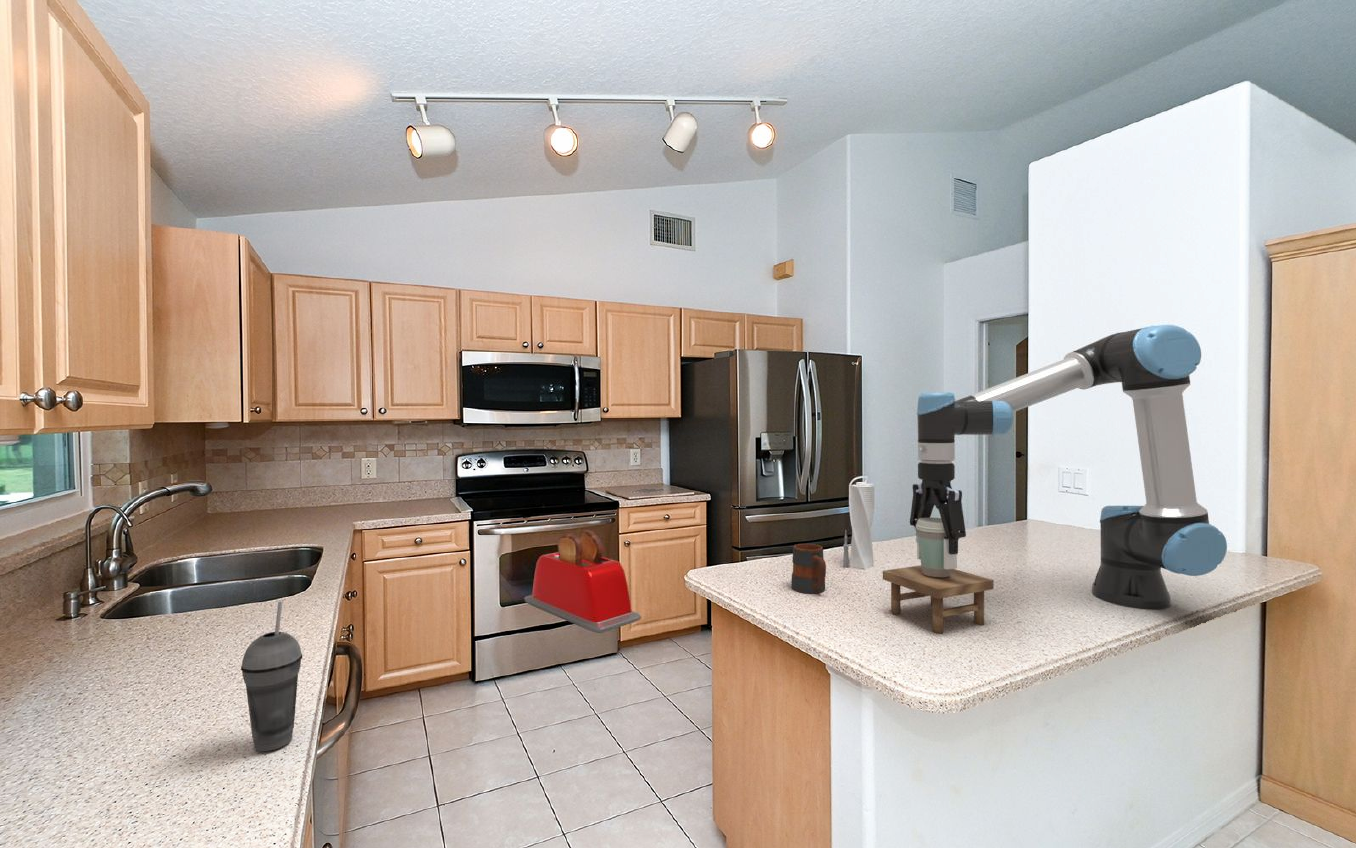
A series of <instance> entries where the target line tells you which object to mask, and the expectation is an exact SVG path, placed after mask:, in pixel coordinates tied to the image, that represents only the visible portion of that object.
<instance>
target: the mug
mask: <svg viewBox="0 0 1356 848" xmlns="http://www.w3.org/2000/svg"><path fill="white" fill-rule="evenodd" d="M791 562H792V573H791V589H792V590H793V591H795V592H797V593H800V594H801V593H802V594H808V595H814V594H820V593H824V591H826V577H827V576H826V574H827V564H826V561H825V559H824V548H823V546H821V545H818V544H814V543H798V544H794V545H793V547H792V561H791Z"/></svg>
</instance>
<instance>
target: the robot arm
mask: <svg viewBox="0 0 1356 848" xmlns="http://www.w3.org/2000/svg"><path fill="white" fill-rule="evenodd" d="M1201 360H1202V350H1201V346H1200V343H1199V341H1198V339H1196V337H1195V335H1193V334H1192V333H1191V332H1190V331H1187V329H1185V328H1184V327H1181V326H1178V325H1174V324H1160V325H1159V324H1158V325H1150V326H1146V327H1141V328H1137V329H1133V330H1127V331H1121V332H1116V333H1112V334H1110V335H1108V336H1105V337H1103V338H1101V339H1100V338H1099V339H1098V340H1096V341H1094V342H1091V343H1089V344H1087V345H1085V346H1083V347H1080V348H1078V349H1076V350H1073V351H1071V352H1067V354H1065V355H1064V357H1063V359H1062V360H1059V361H1056V362H1053V363H1051V364H1049V365H1046V366H1043V367H1041V368H1038V369H1036V370H1033V371H1030V372H1028V373H1026V374H1023V375H1019V376H1017V377H1015V378H1012V379H1009V380H1007V381H1005V382H1002V383H999V384H996V385H993V386H991V387H988V388H986V389H983V390H980V391H978V392H976V393H973V394H971V395H968V396H965V397H963V398H960V399H958V400H957V399H956V398H955V394H954V393H953V392H951V391H950V392H949V391H947V392H942V391H941V392H940V391H939V392H938V391H937V392H936V391H935V392H933V391H932V392H924V393H921V394H920V395H919V396H918V399H917V409H916V410H917V411H916V415H917V449H918V450H917V459H918V461H920V462H918V463H917V478H918V479H919V480H922V481H921V483H918V484H917V483H914V484H912V494H913V495H912V502H911V509H910V518H909V525H910V526H913V527H914V529H915V531H916V533H915V534H916V537H915V541H916V559H917V560H921V559H920V551H919V543H918V535H917V529H916V528H915V527H916V524H917V521H918V519H920V518H931V517H932V514H933V513H932V512H933V510H934V507H935V508H936V509H937V510H938V513H939V516H940V518H941V520H942V523H943V526H944V530H945V533H946V537H944V569H956V570H958V554H959V539H963V538H966V536H967V532H966V525H965V516H964V511H963V504H962V503H963V502H962V500H963V492H962V490H958V489H953V487H952V484H951V482H952V481H953V480H955V476H956V475H955V474H956V473H955V471H956V470H955V468H956V467H955V463H953V461H955V460H956V458H955V457H956V453H955V452H956V450H955V449H956V448H955V447H956V444H955V443H956V440H955V438H956V437H955V436H961V435H963V436H964V435H965V436H966V435H968V436H971V435H973V436H975V435H977V436H980V435H981V436H983V435H984V436H986V435H987V436H988V435H990V436H995V435H1005V434H1007V433H1008V432H1009V431H1010V430H1011V429H1012V425H1013V421H1014V416H1013V415H1014V414H1013V413H1015V412H1018V411H1021V410H1023V409H1025V408H1028V407H1031V406H1033V405H1036V404H1039V403H1042V402H1044V401H1047V400H1049V399H1052V398H1055V397H1057V396H1059V395H1062V394H1065V393H1068V392H1070V391H1074V390H1076V389H1080V390H1089V389H1091V388H1093V387H1096V386H1100V385H1108V384H1113V383H1121V388H1122V393H1124V394H1126V395H1127V396H1129V397H1130V398H1131V400H1132V405H1133V412H1134V420H1135V428H1136V435H1137V443H1138V450H1139V457H1140V465H1141V466H1140V467H1141V472H1142V480H1143V487H1144V494H1145V495H1144V496H1145V502H1146V503H1145V504H1144V505H1106V506H1103V507H1102V509H1101V512H1100V519H1099V523H1100V565H1099V568H1098V570H1097V573H1096V575H1095V579H1094V581H1093V583H1092V585H1091V594H1092V596H1094V597H1095V598H1097V599H1098V600H1101V601H1103V602H1106V603H1109V604H1113V605H1117V606H1121V607H1122V606H1123V607H1128V608H1134V609H1145V610H1147V609H1148V610H1162V609H1166V608H1169V607H1171V595H1170V593H1169V591H1168V588H1167V584H1166V582H1165V580H1164V577H1163V574H1162V569H1163V570H1166V571H1169V572H1171V573H1174V574H1180V575H1184V576H1190V577H1199V576H1204V575H1207V574H1209V573H1211V572H1213V571H1214V570H1216V569H1217V567H1218V565H1221V564H1222V562H1223V561H1224V559H1225V557H1226V555H1227V550H1228V543H1227V539H1226V537H1225V535H1224V534H1223V532H1222V531H1220V530H1219V529H1218V528H1217V526H1214V525H1212V524H1211V523H1210V519H1209V511H1208V510H1207V508H1205V507H1203V506H1202V505H1201V504H1199V502H1198V499H1197V495H1196V493H1197V492H1196V486H1195V478H1194V471H1193V463H1192V456H1191V447H1190V442H1189V434H1188V427H1187V418H1186V412H1185V405H1184V403H1185V402H1184V396H1183V393H1184V391H1185V390H1187V388H1188V387H1190V386H1191V379H1190V375H1191V374H1193V373H1194V372H1195V371H1196V370H1197V368H1198V367H1197V366H1199V365H1200V363H1201ZM951 531H952V533H951Z"/></svg>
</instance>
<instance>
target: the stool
mask: <svg viewBox="0 0 1356 848" xmlns="http://www.w3.org/2000/svg"><path fill="white" fill-rule="evenodd" d="M882 580H883V581H886V582H889V583H890V590H891V591H890V595H891V596H890V606H891V607H890V608H891V609H890V611H891V612H890V613H891V614H892V615H895V616H898V615H901V601H907V600H912V599H914V600H915V599H919V598H925V597H930V606H931V607H932V632H933V634H937V635H943V634H944V618H945V617H950V616H955V615H961V614H966V613H971V612H973V624H975V625H978V626H984V625H985V592H987V591H992V590H994V587H995V586H994V585H995V584H994V579H991V578H988V577H984V576H981V575H976V574H973V573H970V572H966V571H962V570H961V569H960V570H959V569H951V575H950V576H949V577H931V576H927V575H924V574H923V573H922V567H921V564H919V565H913V566H907V567H900V568H893V569H886V570H882ZM901 587H903V588H906V589H909V590H912V591H910V592H909V591H908V592H903V593H901ZM969 594H973V603H969V604H965V605H959V606H953V607H947V608H944V599H947V598H951V597H958V596H964V595H969Z"/></svg>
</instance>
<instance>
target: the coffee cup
mask: <svg viewBox="0 0 1356 848" xmlns="http://www.w3.org/2000/svg"><path fill="white" fill-rule="evenodd" d="M915 528H916V529H917V535H918V543H919V551H920V559H919V560H920V565H921V567H922V573H923V574H924V575H927V576H931V577H949V576H950V575H951V569H944V537H946V533H945V530H944V526H943V523H942V520H941V517H930V518H920V519H918V521H917V524H916V527H914V529H915ZM916 529H915V530H916ZM951 533H952V531H951Z"/></svg>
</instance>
